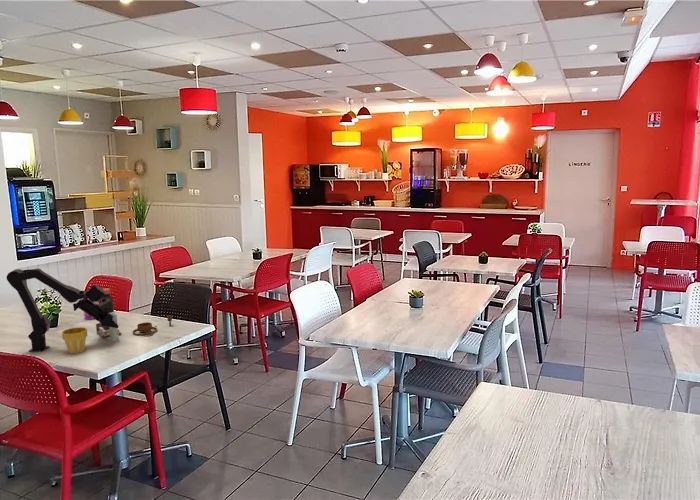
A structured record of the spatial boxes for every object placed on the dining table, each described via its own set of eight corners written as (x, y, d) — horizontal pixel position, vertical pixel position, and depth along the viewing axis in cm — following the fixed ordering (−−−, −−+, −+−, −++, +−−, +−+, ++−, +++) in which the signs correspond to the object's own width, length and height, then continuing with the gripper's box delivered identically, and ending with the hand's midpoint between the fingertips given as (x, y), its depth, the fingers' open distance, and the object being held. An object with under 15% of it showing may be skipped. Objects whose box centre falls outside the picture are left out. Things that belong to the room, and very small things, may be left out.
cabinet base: (121, 335, 264) (120, 325, 263) (102, 338, 259) (101, 329, 258) (115, 329, 274) (114, 320, 273) (96, 333, 268) (95, 323, 267)
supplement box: (83, 319, 294) (81, 299, 292) (91, 316, 299) (89, 297, 298) (92, 320, 292) (90, 300, 290) (99, 317, 298) (98, 297, 296)
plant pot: (92, 350, 242) (90, 329, 241) (69, 356, 235) (66, 335, 233) (83, 345, 249) (81, 325, 248) (60, 351, 242) (58, 330, 240)
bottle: (100, 325, 282) (96, 289, 279) (113, 322, 286) (110, 287, 283) (102, 327, 277) (99, 291, 274) (116, 325, 281) (113, 289, 278)
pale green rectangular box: (118, 340, 256) (116, 314, 254) (113, 341, 255) (111, 315, 253) (115, 337, 261) (113, 312, 259) (110, 338, 259) (108, 313, 257)
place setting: (133, 329, 275) (132, 319, 274) (172, 325, 282) (172, 314, 281) (132, 339, 258) (131, 328, 258) (174, 334, 266) (173, 323, 265)
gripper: (106, 298, 245) (132, 316, 253) (97, 291, 259) (122, 309, 267) (90, 317, 241) (117, 335, 249) (81, 309, 255) (107, 326, 264)
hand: (116, 325), depth 258 cm, fingers closed on pale green rectangular box, 6 cm apart
